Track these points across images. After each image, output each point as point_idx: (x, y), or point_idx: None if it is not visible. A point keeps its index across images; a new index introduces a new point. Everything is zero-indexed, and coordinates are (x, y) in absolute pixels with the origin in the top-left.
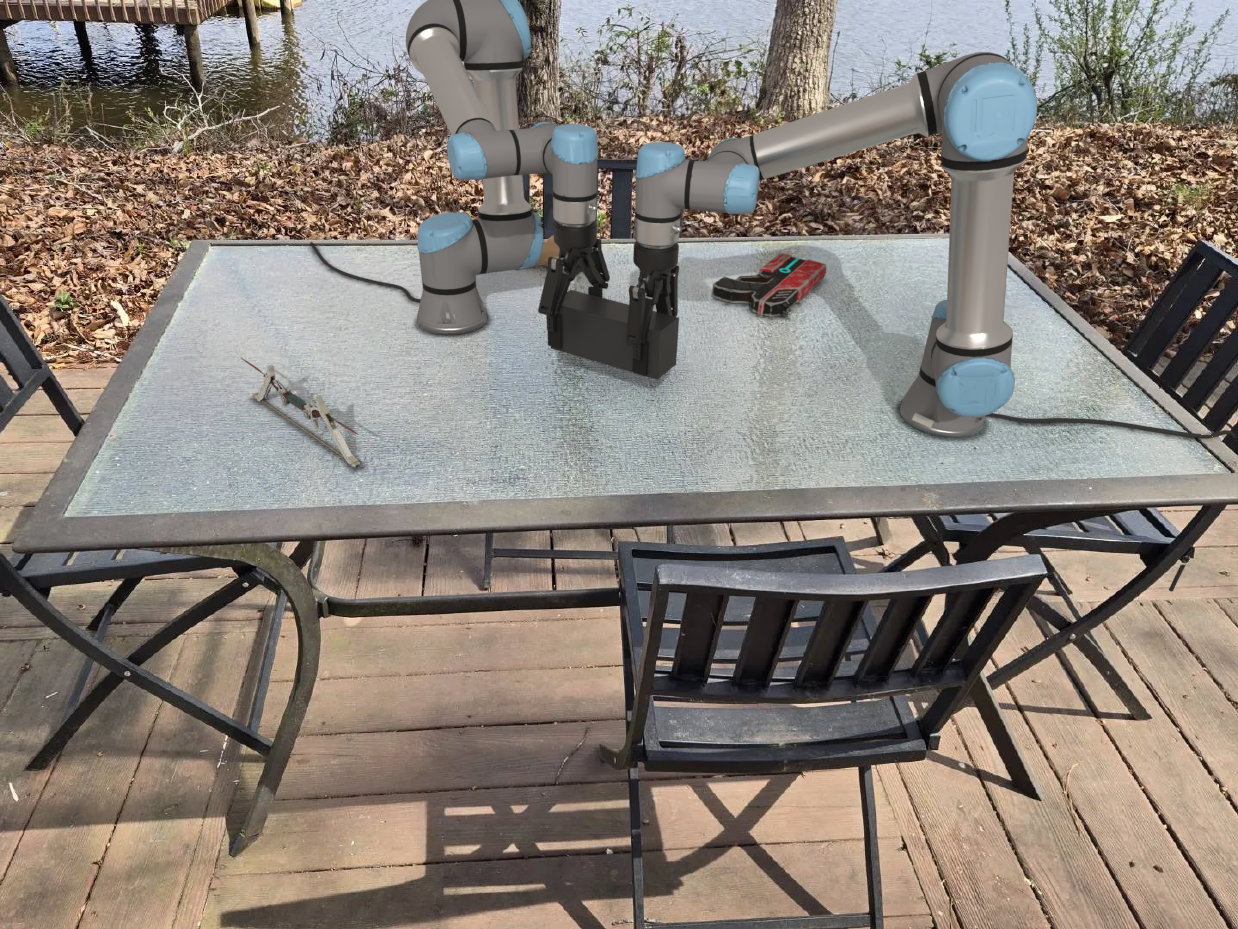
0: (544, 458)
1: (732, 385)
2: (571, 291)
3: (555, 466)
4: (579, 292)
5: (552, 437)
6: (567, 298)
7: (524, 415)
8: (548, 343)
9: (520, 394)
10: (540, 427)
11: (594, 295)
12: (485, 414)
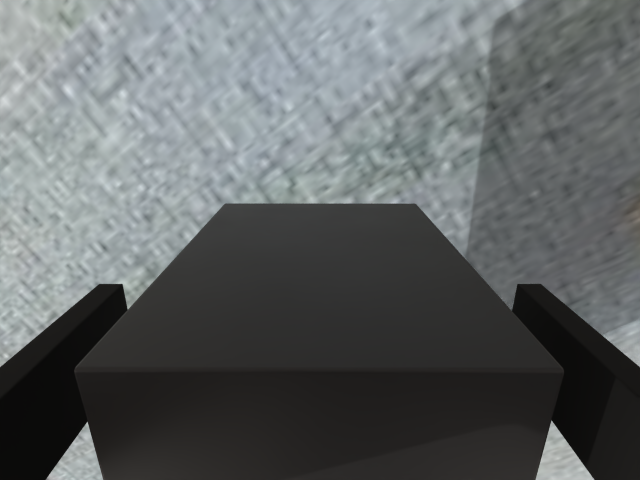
0: (19, 314)
1: (552, 477)
2: (506, 404)
3: (17, 348)
4: (517, 476)
5: (100, 281)
6: (299, 460)
7: (128, 155)
8: (94, 292)
9: (217, 60)
10: (113, 230)
11: (626, 461)
12: (44, 42)
